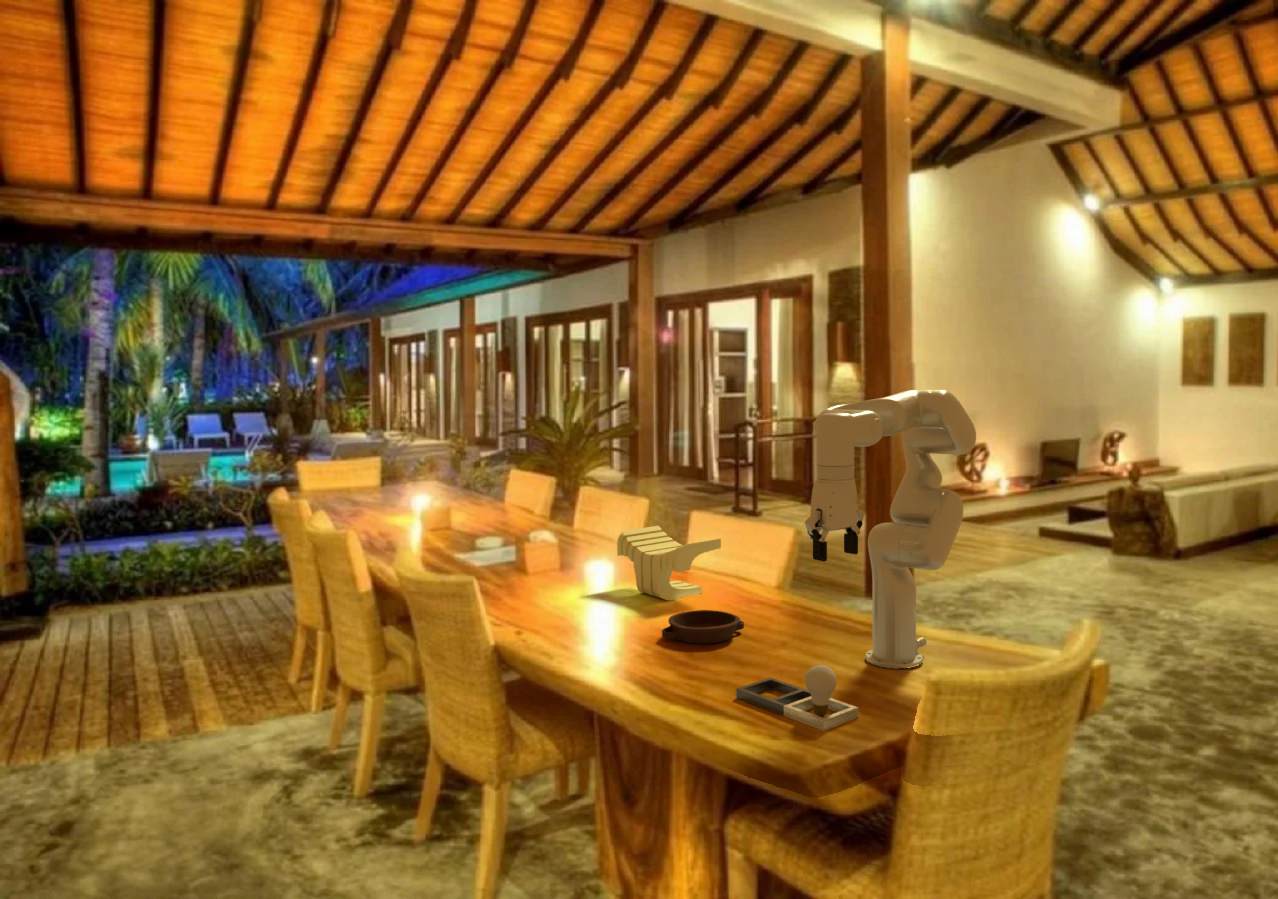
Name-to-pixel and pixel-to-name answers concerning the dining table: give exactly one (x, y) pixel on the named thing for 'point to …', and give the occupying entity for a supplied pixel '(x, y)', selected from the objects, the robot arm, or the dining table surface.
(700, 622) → the dish
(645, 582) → the slatted curved stool
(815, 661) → the dining table surface
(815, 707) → the light bulb
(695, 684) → the dining table surface
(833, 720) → the rail
